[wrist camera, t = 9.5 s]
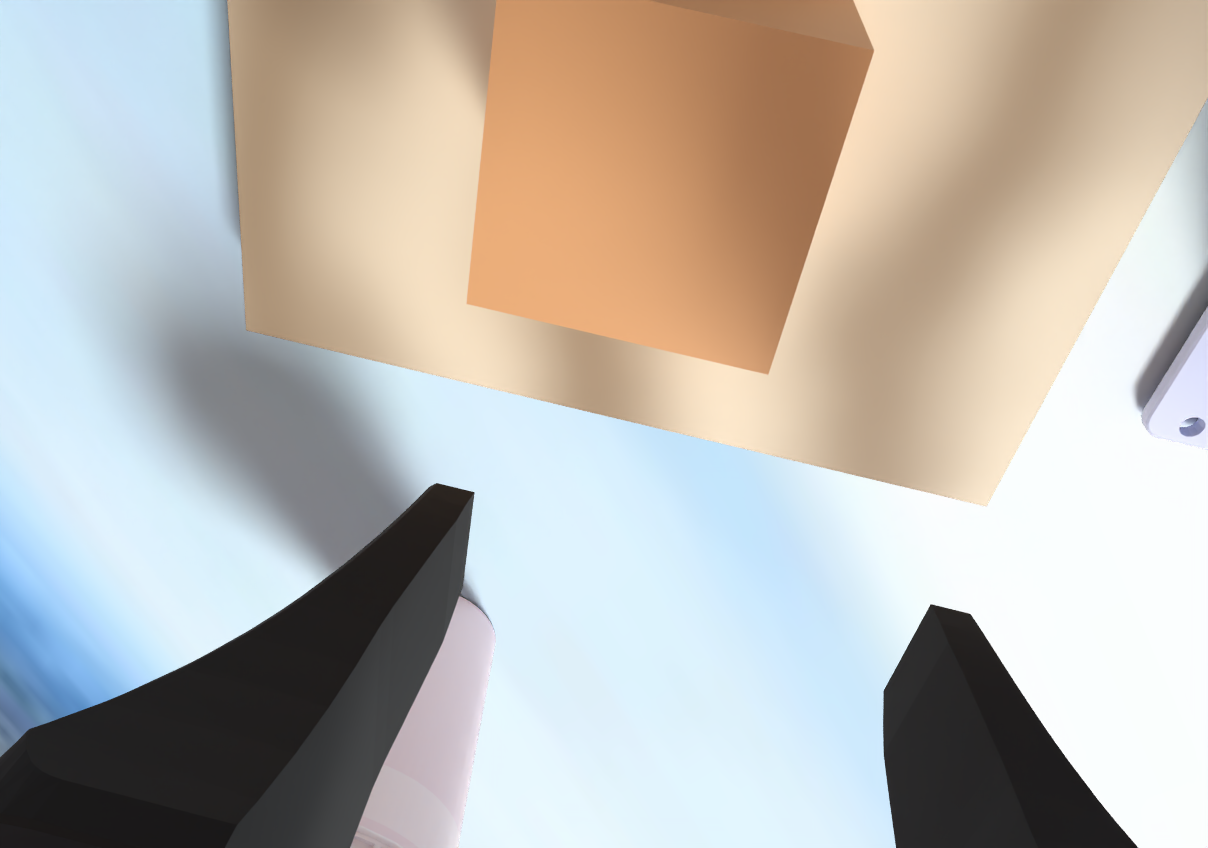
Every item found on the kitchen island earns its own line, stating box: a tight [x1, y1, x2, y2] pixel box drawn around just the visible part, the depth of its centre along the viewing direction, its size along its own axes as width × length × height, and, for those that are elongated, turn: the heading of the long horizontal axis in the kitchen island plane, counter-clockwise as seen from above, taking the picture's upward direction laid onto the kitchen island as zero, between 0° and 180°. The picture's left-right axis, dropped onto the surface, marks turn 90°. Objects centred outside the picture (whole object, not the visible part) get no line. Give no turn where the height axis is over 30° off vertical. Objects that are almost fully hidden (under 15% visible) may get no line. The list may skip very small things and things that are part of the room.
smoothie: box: [350, 596, 496, 848], centre depth 24 cm, size 6×6×14 cm
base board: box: [227, 0, 1208, 506], centre depth 18 cm, size 18×14×2 cm
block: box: [466, 0, 874, 375], centre depth 15 cm, size 5×5×5 cm
